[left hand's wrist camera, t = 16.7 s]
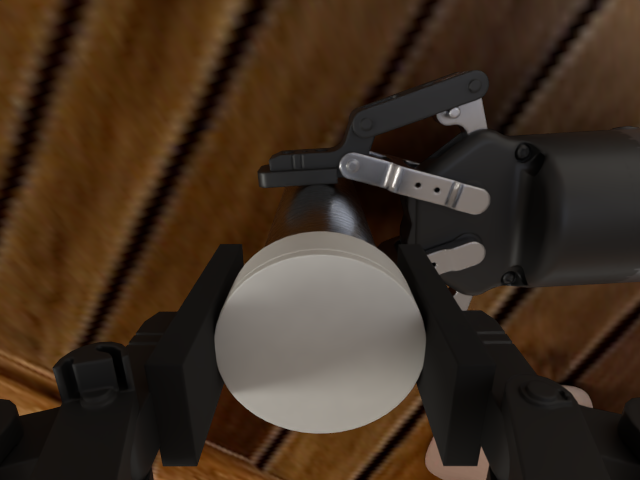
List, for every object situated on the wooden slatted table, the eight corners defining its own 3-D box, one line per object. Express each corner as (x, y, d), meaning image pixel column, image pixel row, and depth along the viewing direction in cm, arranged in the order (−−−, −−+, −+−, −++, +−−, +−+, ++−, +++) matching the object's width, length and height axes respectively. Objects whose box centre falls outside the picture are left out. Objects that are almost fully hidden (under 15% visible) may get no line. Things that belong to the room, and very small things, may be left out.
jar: (273, 206, 26) (211, 364, 11) (306, 145, 25) (284, 233, 10) (333, 237, 27) (349, 424, 12) (367, 179, 26) (434, 310, 11)
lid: (447, 277, 12) (468, 309, 10) (359, 413, 13) (364, 458, 12) (271, 197, 11) (262, 217, 9) (201, 353, 13) (184, 393, 11)
